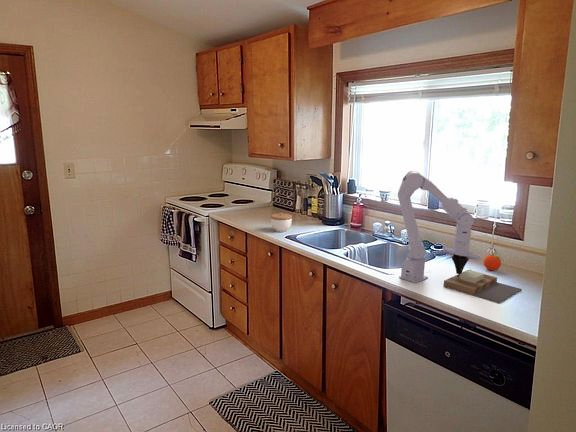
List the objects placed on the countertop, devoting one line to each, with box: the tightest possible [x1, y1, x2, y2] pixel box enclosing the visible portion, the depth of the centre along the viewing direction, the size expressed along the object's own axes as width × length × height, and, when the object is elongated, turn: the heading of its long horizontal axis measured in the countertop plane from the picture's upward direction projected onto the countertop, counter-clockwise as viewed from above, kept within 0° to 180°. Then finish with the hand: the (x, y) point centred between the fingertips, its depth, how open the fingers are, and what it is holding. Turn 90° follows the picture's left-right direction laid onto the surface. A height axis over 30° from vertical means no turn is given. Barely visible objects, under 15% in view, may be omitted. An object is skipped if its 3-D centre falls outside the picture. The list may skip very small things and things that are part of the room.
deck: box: [443, 269, 498, 296], centre depth 169 cm, size 20×12×2 cm, turn 131°
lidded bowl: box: [270, 211, 293, 233], centre depth 254 cm, size 13×13×11 cm
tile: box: [460, 269, 485, 283], centre depth 169 cm, size 8×6×2 cm
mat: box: [472, 281, 523, 304], centre depth 162 cm, size 20×10×1 cm, turn 131°
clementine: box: [483, 254, 504, 272], centre depth 187 cm, size 8×7×7 cm
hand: (459, 273), depth 173 cm, fingers closed
